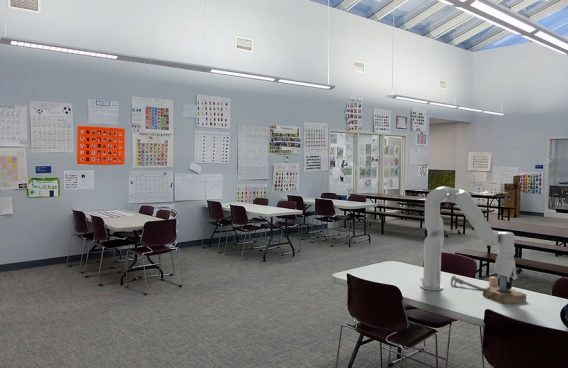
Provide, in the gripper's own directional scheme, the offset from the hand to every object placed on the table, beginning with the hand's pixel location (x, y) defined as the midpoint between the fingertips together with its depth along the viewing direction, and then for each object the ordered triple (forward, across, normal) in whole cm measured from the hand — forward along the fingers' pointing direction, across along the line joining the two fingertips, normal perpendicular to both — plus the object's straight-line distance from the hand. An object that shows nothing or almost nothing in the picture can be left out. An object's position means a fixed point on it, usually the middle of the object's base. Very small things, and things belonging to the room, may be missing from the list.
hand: (504, 287), depth 238 cm
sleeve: (+3, 0, 0) cm, 3 cm away
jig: (+6, 0, 0) cm, 6 cm away
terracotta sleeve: (+6, -12, +5) cm, 14 cm away
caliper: (+7, -22, -4) cm, 23 cm away
